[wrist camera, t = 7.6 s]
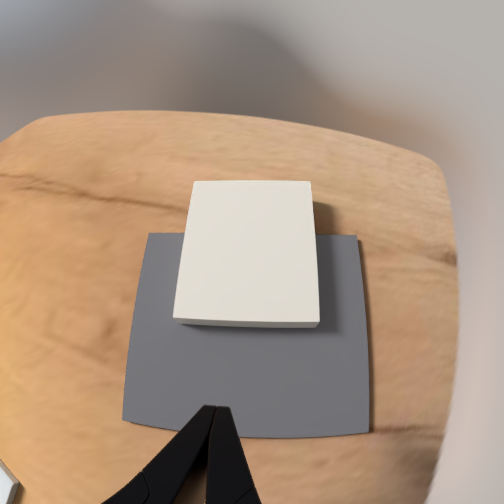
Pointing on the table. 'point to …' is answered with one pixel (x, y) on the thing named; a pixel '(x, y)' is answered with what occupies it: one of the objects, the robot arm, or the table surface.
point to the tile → (249, 256)
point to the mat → (251, 355)
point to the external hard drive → (7, 485)
